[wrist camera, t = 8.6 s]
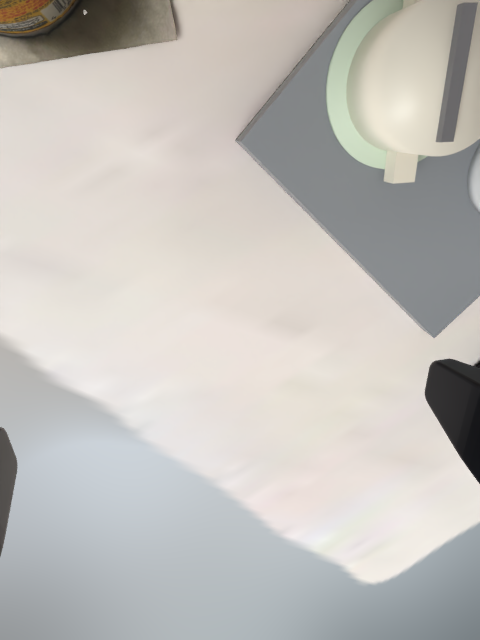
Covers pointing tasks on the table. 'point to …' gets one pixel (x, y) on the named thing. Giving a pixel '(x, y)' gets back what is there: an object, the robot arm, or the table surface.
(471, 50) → the cream rounded dome
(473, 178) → the post board
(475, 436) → the robot arm
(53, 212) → the table surface
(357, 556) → the table surface
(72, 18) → the condiment
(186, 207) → the table surface
